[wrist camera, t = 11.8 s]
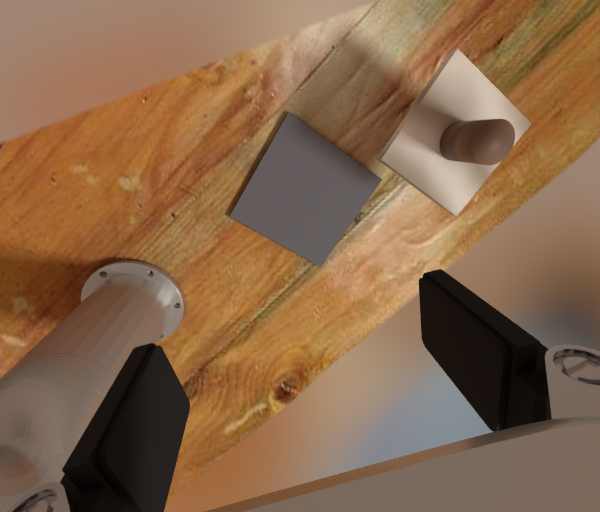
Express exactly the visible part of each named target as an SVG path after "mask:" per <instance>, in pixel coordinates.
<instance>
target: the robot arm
mask: <svg viewBox="0 0 600 512" xmlns="http://www.w3.org/2000/svg"><path fill="white" fill-rule="evenodd" d="M151 271H152V272H151ZM419 294H420V311H421V332H422V340H423V343H424V345H425V347H426V348H427V350H428V351H429V352H430V354H431V355H432V356H433V357H434V359H435V360H436V361H437V362H438V364H439V365H440V366H441V367H442V369H443V370H444V371H445V373H446V374H447V375H448V376H449V378H450V379H451V380H452V382H453V383H454V384H455V385H456V387H457V388H458V389H459V390H460V392H461V393H462V394H463V395H464V397H465V398H466V399H467V401H468V402H469V403H470V404H471V405H472V407H473V408H474V409H475V411H476V412H477V413H478V415H479V416H480V417H481V418H482V419H483V421H484V422H485V424H486V425H487V426H488V427H489V428H490V429H491V430H492V431H494V432H492V433H488V434H484V435H481V436H476V437H473V438H469V439H465V440H461V441H457V442H453V443H450V444H446V445H443V446H439V447H435V448H431V449H428V450H424V451H420V452H417V453H413V454H410V455H406V456H402V457H398V458H395V459H391V460H387V461H384V462H380V463H376V464H373V465H369V466H365V467H362V468H358V469H355V470H351V471H348V472H344V473H340V474H337V475H333V476H330V477H326V478H322V479H319V480H315V481H312V482H308V483H305V484H301V485H297V486H294V487H290V488H287V489H283V490H279V491H276V492H272V493H269V494H265V495H261V496H258V497H255V498H251V499H247V500H244V501H241V502H237V503H233V504H230V505H226V506H223V507H219V508H216V509H212V510H209V511H205V512H600V352H598V351H596V350H593V349H590V348H586V347H582V346H577V345H557V346H555V347H552V348H550V349H547V348H546V347H545V346H543V345H542V344H541V343H540V341H538V340H537V339H535V338H534V337H533V336H532V335H530V334H528V333H527V332H526V331H525V330H523V329H522V328H521V327H519V326H518V325H517V324H515V323H514V322H512V321H511V320H510V319H508V318H507V317H506V316H504V315H503V314H501V313H500V312H499V311H497V310H496V309H495V308H493V307H492V306H490V305H489V304H488V303H486V302H485V301H484V300H482V299H481V298H480V297H478V296H477V295H476V294H474V293H473V292H472V291H470V290H469V289H467V288H466V287H465V286H463V285H462V284H461V283H459V282H458V281H457V280H455V279H454V278H452V277H451V276H450V275H448V274H447V273H446V272H444V271H443V270H441V269H439V270H435V271H431V272H427V273H424V274H423V278H420V279H419ZM80 299H81V303H80V304H79V305H78V306H77V307H76V308H75V309H74V310H73V311H72V312H71V313H70V314H69V315H68V316H66V317H65V318H64V319H63V320H62V321H61V322H60V323H59V324H58V325H57V326H56V327H55V328H54V329H53V330H52V331H51V332H49V333H48V334H47V335H46V336H45V337H44V338H43V339H42V340H41V341H40V342H39V343H38V344H37V345H36V346H35V347H33V348H32V349H31V350H30V351H29V352H28V353H27V354H26V355H25V356H24V357H23V358H22V359H21V360H20V361H19V362H17V363H16V364H15V365H14V366H13V367H12V368H11V369H10V370H9V371H8V372H7V373H6V374H5V375H3V376H2V377H1V378H0V512H164V509H165V505H166V501H167V497H168V493H169V489H170V485H171V481H172V477H173V473H174V469H175V465H176V461H177V457H178V453H179V450H180V446H181V442H182V438H183V434H184V430H185V426H186V422H187V418H188V414H189V410H190V403H189V399H188V397H187V395H186V393H185V391H184V389H183V388H182V386H181V384H180V382H179V380H178V378H177V376H176V374H175V372H174V370H173V368H172V366H171V364H170V362H169V361H168V359H167V357H166V355H165V353H164V351H163V349H162V347H161V346H156V345H157V343H158V341H161V340H163V339H165V338H166V337H168V336H170V335H171V334H172V333H173V332H174V331H175V330H176V329H177V327H178V326H179V324H180V322H181V320H182V318H183V315H184V311H185V301H184V296H183V294H182V291H181V289H180V287H179V286H178V284H177V283H176V281H175V280H174V279H173V278H172V277H171V276H170V275H169V274H167V273H166V272H164V271H163V270H162V269H160V268H158V267H156V266H154V265H151V264H148V263H145V262H140V261H134V260H122V261H117V262H112V263H109V264H107V265H104V266H103V267H101V268H99V269H98V270H96V271H95V272H94V273H93V274H92V275H90V277H89V278H88V279H87V280H86V282H85V283H84V286H83V288H82V290H81V297H80Z"/></svg>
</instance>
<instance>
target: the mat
mask: <svg viewBox="0 0 600 512" xmlns="http://www.w3.org/2000/svg"><path fill="white" fill-rule="evenodd" d="M381 180H382V179H381V178H379V177H378V176H377V175H375V174H374V173H372V172H371V171H370V170H368V169H367V168H366V167H364V166H363V165H361V164H360V163H359V162H357V161H356V160H354V159H353V158H352V157H350V156H349V155H348V154H346V153H345V152H343V151H342V150H341V149H339V148H338V147H337V146H335V145H334V144H332V143H331V142H330V141H328V140H327V139H326V138H324V137H323V136H321V135H320V134H319V133H317V132H316V131H314V130H313V129H312V128H310V127H309V126H308V125H306V124H305V123H303V122H302V121H301V120H299V119H298V118H297V117H295V116H294V115H292V114H291V113H290V112H288V114H287V116H286V118H285V119H284V121H283V123H282V125H281V126H280V128H279V130H278V132H277V133H276V135H275V137H274V139H273V140H272V142H271V144H270V146H269V148H268V149H267V151H266V153H265V155H264V156H263V158H262V160H261V162H260V163H259V165H258V167H257V169H256V170H255V172H254V174H253V176H252V177H251V179H250V181H249V183H248V184H247V186H246V188H245V190H244V192H243V193H242V195H241V197H240V199H239V200H238V202H237V204H236V206H235V207H234V209H233V211H232V213H231V214H230V216H229V217H231V218H233V219H235V220H237V221H238V222H240V223H242V224H244V225H246V226H247V227H249V228H251V229H253V230H255V231H257V232H258V233H260V234H262V235H264V236H266V237H267V238H269V239H271V240H273V241H275V242H276V243H278V244H280V245H282V246H284V247H285V248H287V249H289V250H291V251H293V252H294V253H296V254H298V255H300V256H302V257H304V258H305V259H307V260H309V261H311V262H313V263H314V264H316V265H318V266H320V267H321V266H322V264H323V263H324V262H325V260H326V259H327V257H328V256H329V254H330V253H331V252H332V250H333V249H334V247H335V246H336V244H337V243H338V242H339V240H340V239H341V237H342V236H343V235H344V233H345V232H346V230H347V229H348V227H349V226H350V225H351V223H352V222H353V220H354V219H355V217H356V216H357V215H358V213H359V212H360V210H361V209H362V207H363V206H364V205H365V203H366V202H367V200H368V199H369V197H370V196H371V195H372V193H373V192H374V190H375V189H376V187H377V186H378V185H379V183H380V182H381Z"/></svg>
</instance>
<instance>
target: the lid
mask: <svg viewBox="0 0 600 512" xmlns="http://www.w3.org/2000/svg"><path fill="white" fill-rule="evenodd" d="M530 125H531V123H530V122H529V121H528V120H527V119H526V118H525V117H524V116H523V115H522V114H521V113H520V112H519V111H518V110H517V109H516V108H515V107H514V106H513V105H512V103H511V102H510V101H509V100H508V99H507V98H506V97H505V96H504V95H503V94H502V93H501V92H500V91H499V90H498V89H497V88H496V87H495V86H494V85H493V84H492V83H491V82H490V81H489V80H488V79H487V78H486V77H485V76H484V75H483V74H482V73H481V72H480V71H479V70H478V69H477V68H476V67H475V66H474V65H473V64H472V63H471V62H470V61H469V60H468V59H467V57H466V56H465V55H464V54H463V53H462V52H461V51H460V50H459V49H458V48H457V49H455V50H453V51H451V52H449V53H448V55H447V56H446V58H445V59H444V61H443V62H442V64H441V65H440V67H439V68H438V69H437V71H436V72H435V74H434V75H433V77H432V78H431V80H430V81H429V83H428V84H427V86H426V87H425V88H424V90H423V91H422V93H421V94H420V96H419V97H418V99H417V100H416V102H415V103H414V105H413V106H412V107H411V109H410V110H409V112H408V113H407V115H406V116H405V118H404V119H403V121H402V122H401V124H400V125H399V127H398V128H397V129H396V131H395V132H394V134H393V135H392V137H391V138H390V140H389V141H388V143H387V144H386V146H385V147H384V148H383V150H382V151H381V153H380V154H379V156H378V157H377V160H379V161H380V162H381V163H383V164H384V165H385V166H387V167H388V168H389V169H391V170H392V171H393V172H395V173H396V174H397V175H399V176H400V177H401V178H403V179H404V180H405V181H407V182H408V183H409V184H411V185H412V186H413V187H415V188H416V189H417V190H419V191H420V192H421V193H423V194H424V195H425V196H427V197H428V198H429V199H431V200H432V201H433V202H435V203H436V204H437V205H439V206H440V207H441V208H443V209H444V210H445V211H447V212H448V213H449V214H452V215H454V216H457V215H458V214H459V212H460V211H461V210H462V209H463V208H464V206H465V205H466V204H467V203H468V201H469V200H470V199H471V198H472V196H473V195H474V194H475V193H476V191H477V190H478V189H479V188H480V187H481V185H482V184H483V183H484V182H485V180H486V179H487V178H488V177H489V175H490V174H491V173H492V172H493V171H494V169H495V168H496V167H497V166H498V164H499V163H500V162H501V161H502V160H503V159H505V158H506V157H507V155H508V154H509V153H510V151H511V150H512V147H513V146H514V145H515V143H516V142H517V141H518V140H519V138H520V137H521V136H522V135H523V133H524V132H525V131H526V130H527V129H528V127H529V126H530Z"/></svg>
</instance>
